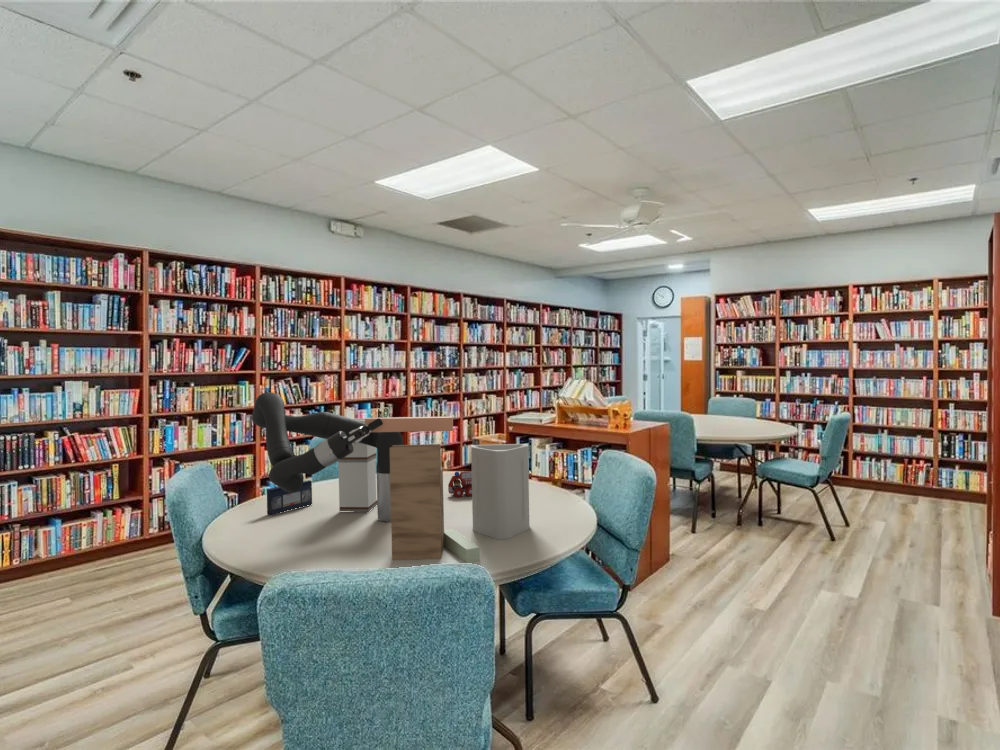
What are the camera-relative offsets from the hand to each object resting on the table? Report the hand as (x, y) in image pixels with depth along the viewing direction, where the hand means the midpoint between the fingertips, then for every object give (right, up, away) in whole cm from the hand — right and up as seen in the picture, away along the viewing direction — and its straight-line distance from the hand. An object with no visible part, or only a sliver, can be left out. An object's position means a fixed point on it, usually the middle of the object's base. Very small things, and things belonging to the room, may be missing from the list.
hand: (382, 420), depth 163 cm
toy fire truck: (+20, -38, +68) cm, 80 cm away
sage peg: (+24, -39, -2) cm, 46 cm away
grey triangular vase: (+36, -39, +15) cm, 55 cm away
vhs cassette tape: (-47, -40, +49) cm, 79 cm away
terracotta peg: (+8, -3, 0) cm, 9 cm away
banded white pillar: (-20, -39, +49) cm, 65 cm away
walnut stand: (+12, -39, -3) cm, 41 cm away
